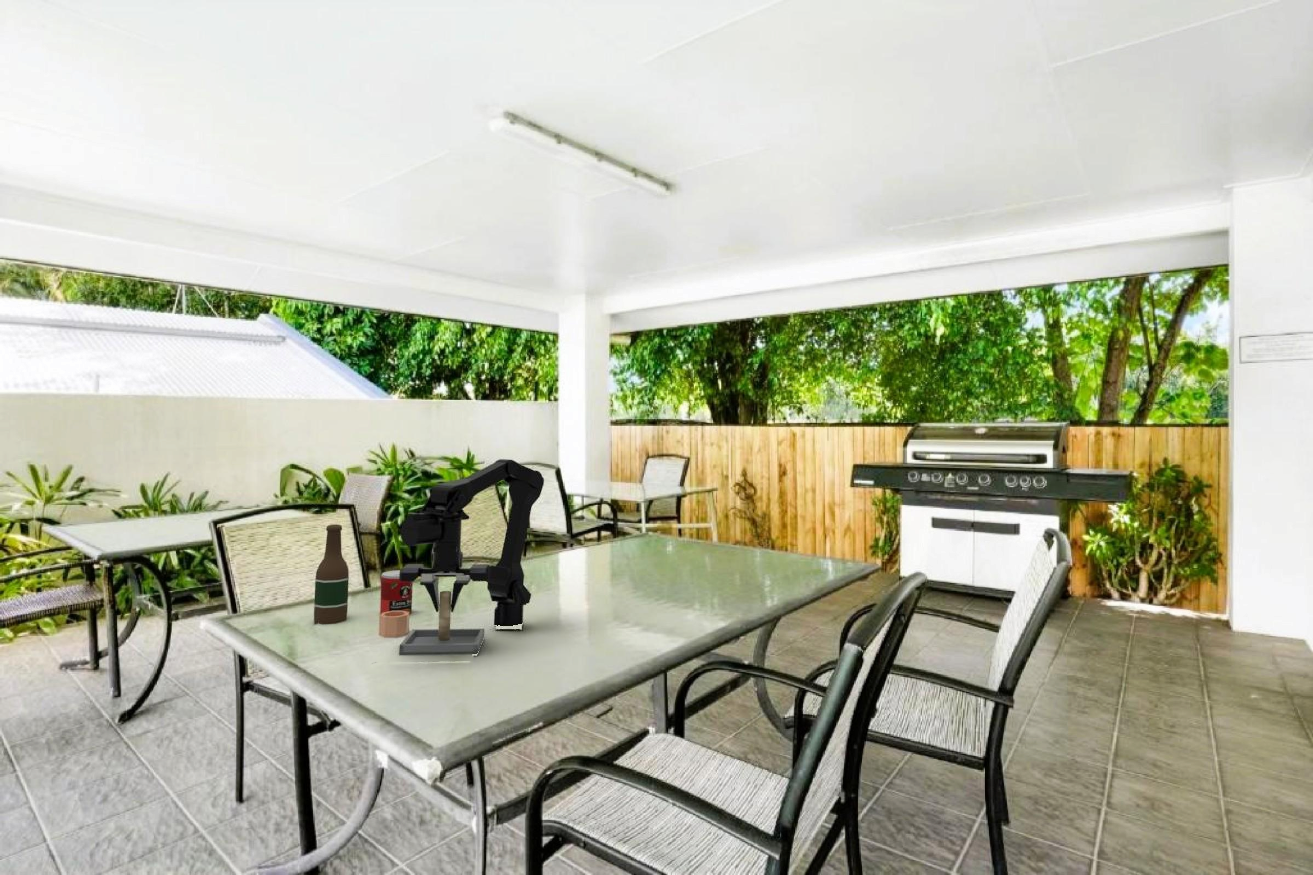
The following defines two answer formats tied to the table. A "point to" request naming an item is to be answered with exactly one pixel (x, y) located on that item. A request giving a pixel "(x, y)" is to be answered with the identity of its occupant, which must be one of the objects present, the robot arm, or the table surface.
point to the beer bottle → (331, 582)
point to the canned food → (395, 593)
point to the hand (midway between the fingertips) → (444, 611)
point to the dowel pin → (444, 616)
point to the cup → (394, 623)
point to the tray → (441, 642)
